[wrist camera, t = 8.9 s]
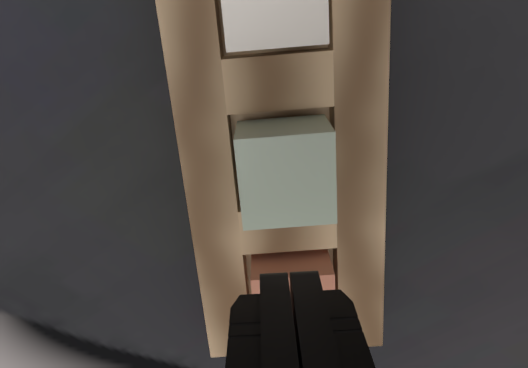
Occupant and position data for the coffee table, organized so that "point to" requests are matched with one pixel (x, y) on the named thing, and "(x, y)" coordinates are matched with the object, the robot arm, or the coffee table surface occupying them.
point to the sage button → (286, 172)
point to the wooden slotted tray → (276, 106)
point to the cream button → (274, 24)
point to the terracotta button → (293, 266)
